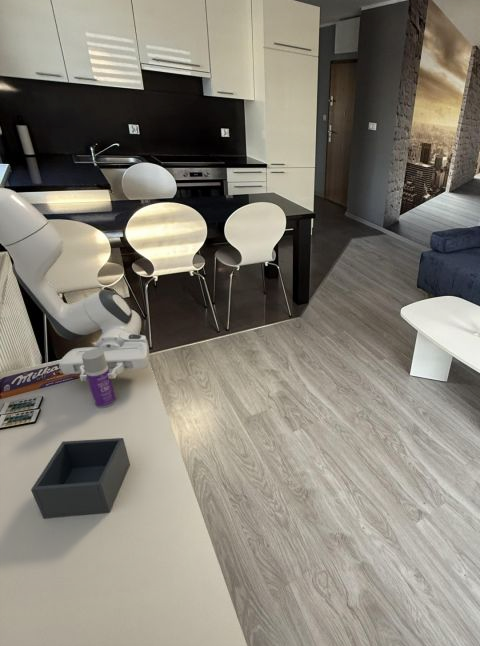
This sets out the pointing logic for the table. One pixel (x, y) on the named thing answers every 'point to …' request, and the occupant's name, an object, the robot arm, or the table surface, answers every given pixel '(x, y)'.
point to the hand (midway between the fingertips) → (97, 377)
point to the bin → (82, 478)
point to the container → (98, 378)
